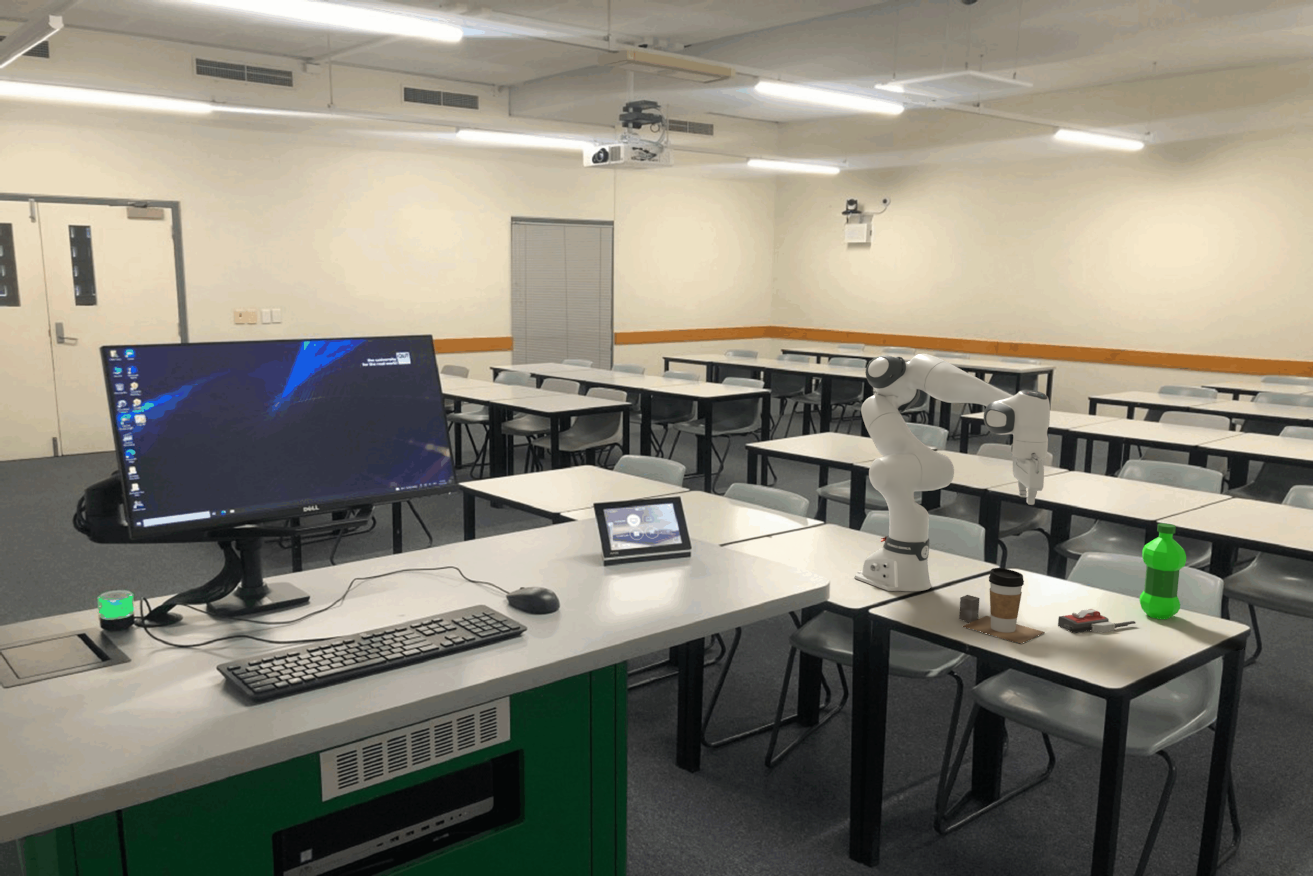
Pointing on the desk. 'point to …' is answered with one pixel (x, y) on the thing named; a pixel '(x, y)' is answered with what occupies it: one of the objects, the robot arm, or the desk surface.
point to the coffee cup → (1005, 598)
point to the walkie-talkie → (1089, 622)
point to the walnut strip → (970, 614)
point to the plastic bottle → (1162, 574)
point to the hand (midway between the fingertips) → (1026, 500)
